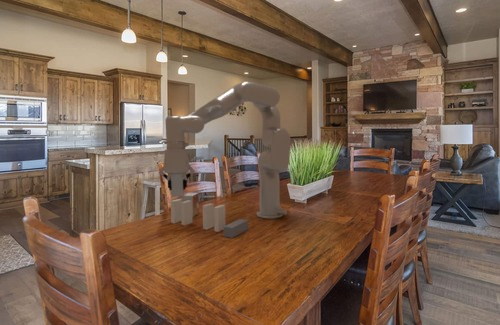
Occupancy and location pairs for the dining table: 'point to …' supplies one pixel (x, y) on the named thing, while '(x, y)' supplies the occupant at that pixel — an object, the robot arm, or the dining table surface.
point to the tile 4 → (208, 216)
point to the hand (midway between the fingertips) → (177, 188)
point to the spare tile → (177, 184)
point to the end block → (235, 228)
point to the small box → (195, 202)
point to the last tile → (219, 218)
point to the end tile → (176, 211)
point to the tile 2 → (186, 212)
